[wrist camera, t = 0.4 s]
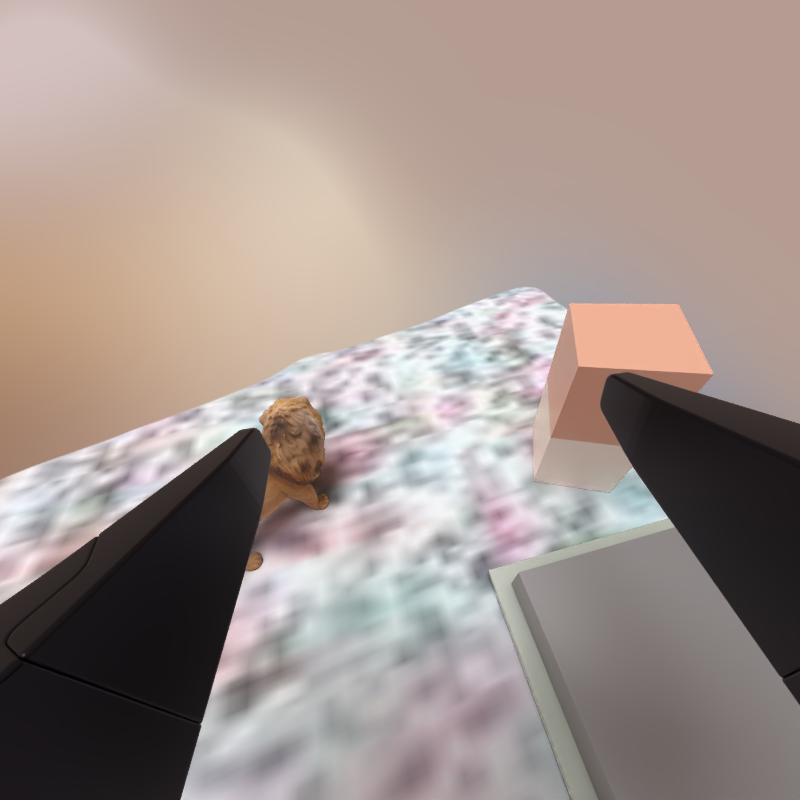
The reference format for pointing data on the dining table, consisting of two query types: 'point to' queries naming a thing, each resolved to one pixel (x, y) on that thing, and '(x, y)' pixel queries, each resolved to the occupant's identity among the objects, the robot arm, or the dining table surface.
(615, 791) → the base brick
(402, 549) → the dining table surface
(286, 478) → the lion figurine
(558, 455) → the brick column
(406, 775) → the dining table surface
